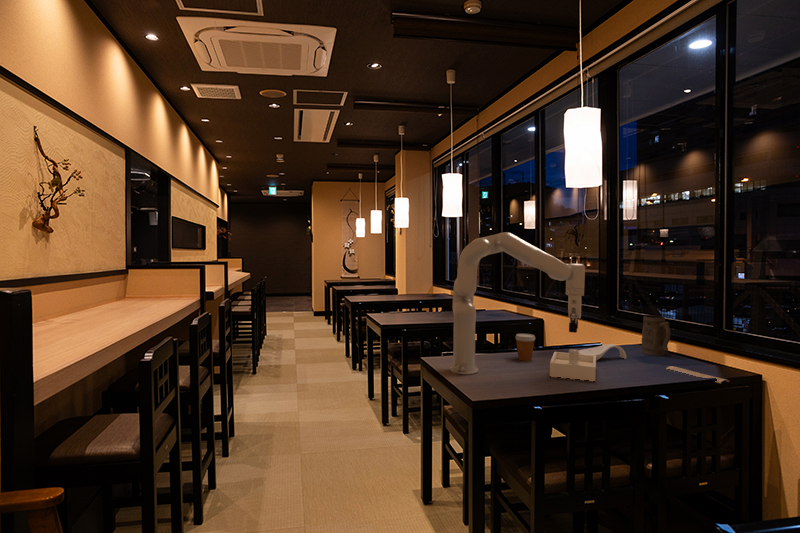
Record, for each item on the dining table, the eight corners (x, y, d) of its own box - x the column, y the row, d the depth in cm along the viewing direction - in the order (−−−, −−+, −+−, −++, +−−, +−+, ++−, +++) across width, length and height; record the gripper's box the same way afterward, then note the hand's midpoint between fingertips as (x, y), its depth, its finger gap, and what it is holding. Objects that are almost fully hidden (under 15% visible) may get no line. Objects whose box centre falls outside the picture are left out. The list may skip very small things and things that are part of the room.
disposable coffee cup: (537, 362, 221) (537, 337, 221) (517, 361, 222) (517, 337, 221) (532, 357, 231) (532, 333, 230) (513, 357, 231) (513, 333, 231)
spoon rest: (585, 362, 221) (585, 348, 221) (573, 357, 233) (573, 342, 232) (631, 361, 224) (631, 346, 224) (616, 355, 236) (616, 341, 236)
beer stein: (635, 351, 242) (638, 314, 240) (649, 349, 247) (652, 313, 245) (662, 360, 229) (666, 321, 226) (676, 358, 233) (680, 319, 231)
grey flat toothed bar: (666, 370, 209) (666, 366, 209) (676, 369, 212) (676, 365, 212) (720, 385, 188) (720, 380, 188) (731, 383, 191) (731, 378, 191)
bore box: (595, 381, 190) (595, 367, 190) (549, 376, 197) (549, 362, 197) (595, 368, 210) (595, 355, 210) (554, 364, 217) (554, 351, 217)
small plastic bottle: (577, 374, 201) (578, 351, 200) (568, 373, 202) (568, 350, 202) (578, 371, 205) (578, 349, 204) (568, 370, 206) (569, 348, 206)
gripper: (583, 294, 192) (581, 334, 193) (584, 290, 208) (583, 328, 209) (564, 293, 195) (562, 333, 196) (567, 289, 211) (565, 326, 212)
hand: (573, 330), depth 203 cm, fingers open, 9 cm apart
